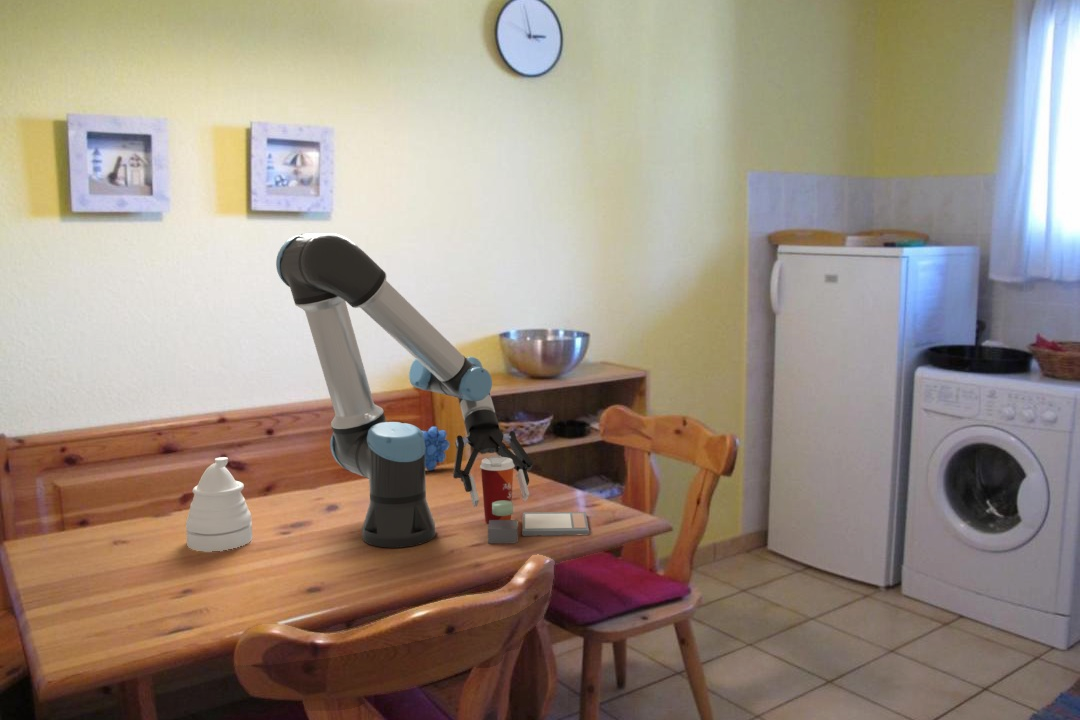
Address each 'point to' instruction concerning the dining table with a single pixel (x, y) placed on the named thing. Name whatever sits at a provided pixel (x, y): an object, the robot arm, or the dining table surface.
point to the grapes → (435, 447)
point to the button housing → (503, 531)
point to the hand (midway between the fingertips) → (501, 500)
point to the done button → (502, 508)
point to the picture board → (554, 523)
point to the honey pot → (218, 512)
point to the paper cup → (496, 484)
